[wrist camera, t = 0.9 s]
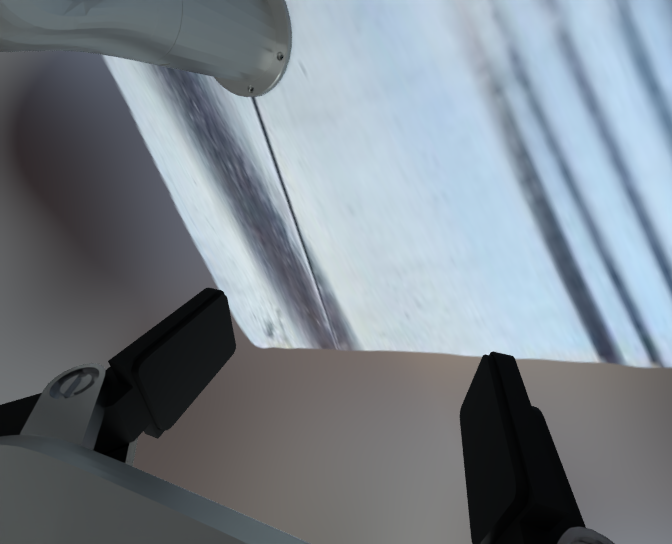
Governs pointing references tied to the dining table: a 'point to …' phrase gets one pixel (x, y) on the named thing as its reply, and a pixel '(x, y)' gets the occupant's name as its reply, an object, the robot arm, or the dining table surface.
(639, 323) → the dining table surface
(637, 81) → the dining table surface
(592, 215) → the dining table surface
